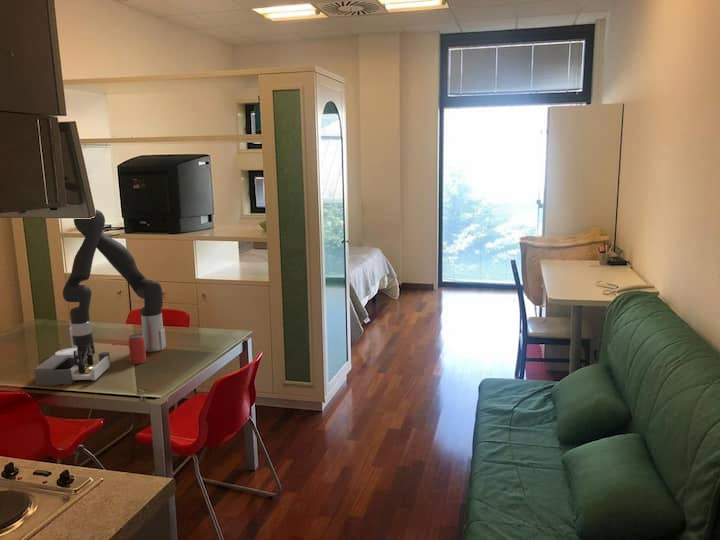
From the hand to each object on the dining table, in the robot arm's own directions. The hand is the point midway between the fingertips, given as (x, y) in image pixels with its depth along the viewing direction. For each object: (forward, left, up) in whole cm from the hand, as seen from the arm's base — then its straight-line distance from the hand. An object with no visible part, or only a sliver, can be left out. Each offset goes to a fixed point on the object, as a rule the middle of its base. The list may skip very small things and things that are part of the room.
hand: (86, 369), depth 246 cm
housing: (+10, 0, -3) cm, 10 cm away
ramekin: (+15, -18, -3) cm, 24 cm away
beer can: (-16, -16, -3) cm, 23 cm away
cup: (+16, -33, -3) cm, 37 cm away
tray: (+1, 0, -2) cm, 2 cm away
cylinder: (-2, -14, -3) cm, 14 cm away
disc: (0, 0, -1) cm, 1 cm away
